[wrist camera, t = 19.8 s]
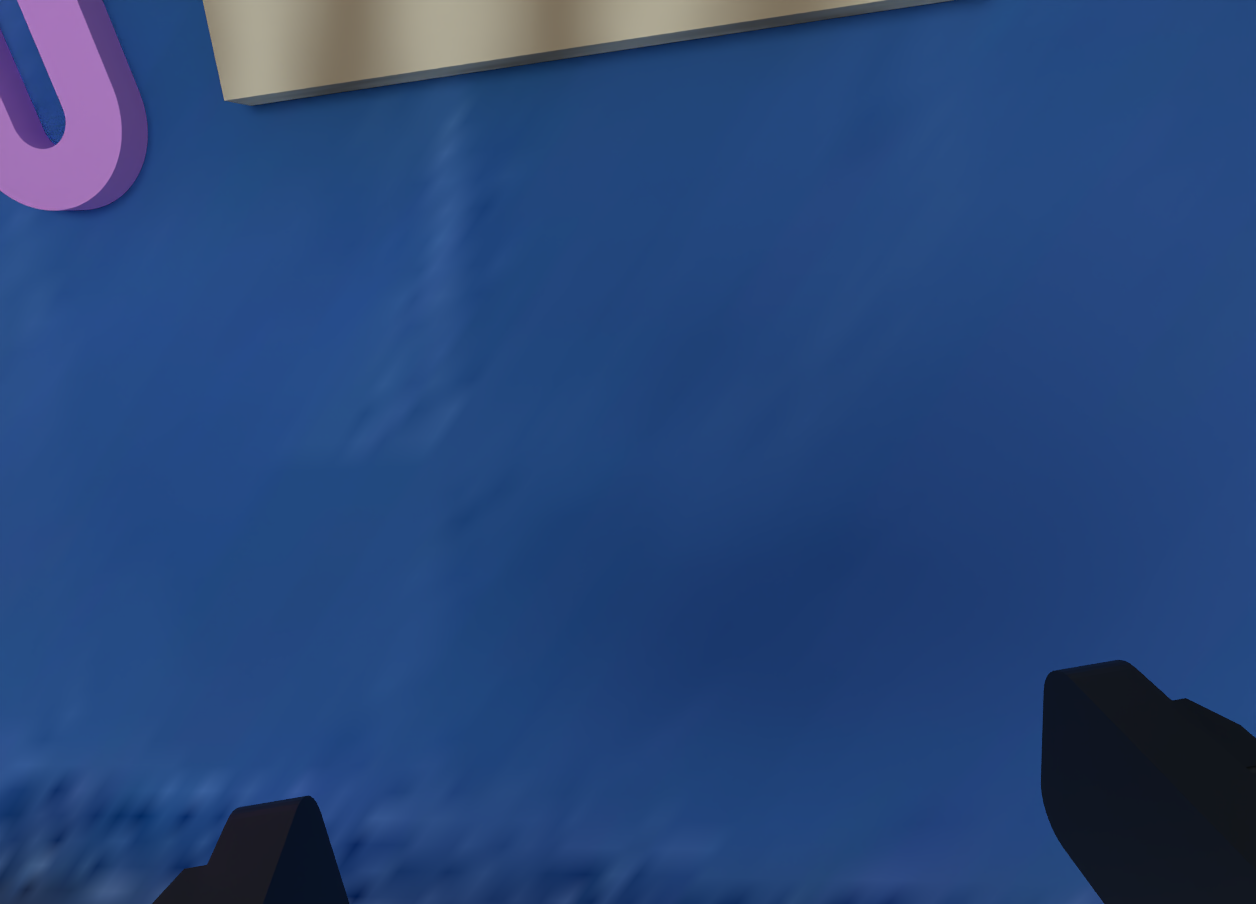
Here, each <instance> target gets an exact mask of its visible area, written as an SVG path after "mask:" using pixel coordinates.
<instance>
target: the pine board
mask: <svg viewBox="0 0 1256 904" xmlns="http://www.w3.org/2000/svg"><path fill="white" fill-rule="evenodd" d="M945 1H952V0H203V4H204V8H205V13H206V18H207V22H208V27H209V32H210V36H211V41H212V45H213V50H214V55H215V59H216V64H217V69H218V73H219V78H220V83H221V87H222V92H223V96H224V101H229V102H234V103H240V104H245V105H250V106H252V105H259V104H266V103H272V102H279V101H286V100H292V99H299V98H306V97H312V96H319V95H326V94H332V93H339V92H346V91H352V90H359V89H366V88H372V87H379V86H386V85H392V84H399V83H406V82H412V81H419V80H426V79H432V78H439V77H446V76H452V75H459V74H466V73H472V72H479V71H486V70H492V69H499V68H505V67H512V66H519V65H525V64H532V63H539V62H545V61H552V60H559V59H565V58H572V57H579V56H585V55H592V54H599V53H605V52H612V51H619V50H625V49H632V48H639V47H645V46H652V45H659V44H665V43H672V42H679V41H685V40H692V39H699V38H705V37H712V36H719V35H725V34H732V33H739V32H745V31H752V30H759V29H765V28H772V27H779V26H785V25H792V24H799V23H805V22H812V21H819V20H825V19H832V18H839V17H845V16H852V15H859V14H865V13H872V12H879V11H885V10H892V9H899V8H905V7H912V6H919V5H925V4H932V3H938V2H945Z"/></svg>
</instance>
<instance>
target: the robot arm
mask: <svg viewBox="0 0 1256 904" xmlns="http://www.w3.org/2000/svg"><path fill="white" fill-rule="evenodd" d="M1041 790H1042V797H1043V802H1044V806H1045V810H1046V813H1047V816H1048V819H1049V821H1050V824H1051V826H1052V829H1053V831H1054V833H1055V835H1056V837H1057V838H1058V840H1059V842H1060V843H1061V845H1062V846H1063V848H1064V849H1065V851H1066V852H1067V853H1068V855H1069V856H1070V857H1071V859H1072V860H1073V862H1074V863H1075V864H1076V866H1077V867H1078V868H1079V870H1080V871H1081V872H1082V874H1083V875H1084V877H1085V878H1086V879H1087V881H1088V882H1089V883H1090V885H1091V886H1092V888H1093V889H1094V890H1095V892H1096V893H1097V894H1098V896H1099V897H1100V898H1101V900H1102V901H1103V903H1104V904H1256V738H1255V737H1254V736H1252V735H1251V734H1250V733H1249V732H1248V731H1247V730H1245V729H1244V728H1243V727H1242V726H1241V725H1239V724H1237V723H1235V722H1233V721H1231V720H1229V719H1227V718H1225V717H1223V716H1221V715H1219V714H1217V713H1215V712H1213V711H1211V710H1209V709H1207V708H1205V707H1203V706H1201V705H1199V704H1197V703H1195V702H1192V701H1190V700H1188V699H1186V698H1185V699H1179V700H1173V701H1172V700H1171V699H1169V698H1168V697H1167V696H1166V695H1165V694H1164V693H1163V692H1162V691H1161V690H1159V689H1158V688H1157V687H1156V686H1155V685H1154V684H1153V683H1152V682H1151V681H1149V680H1148V679H1147V678H1146V677H1145V676H1144V675H1143V674H1142V673H1141V672H1139V671H1138V670H1137V669H1136V668H1135V667H1134V666H1132V665H1131V664H1130V663H1128V662H1126V661H1122V660H1115V661H1109V662H1103V663H1097V664H1091V665H1085V666H1079V667H1073V668H1068V669H1062V670H1056V671H1052V672H1050V673H1049V675H1048V676H1047V678H1046V680H1045V685H1044V700H1043V732H1042V764H1041ZM152 904H349V901H348V898H347V895H346V891H345V888H344V885H343V882H342V879H341V875H340V872H339V869H338V866H337V863H336V860H335V856H334V853H333V850H332V847H331V844H330V840H329V837H328V834H327V831H326V828H325V824H324V821H323V818H322V815H321V812H320V809H319V807H318V805H317V803H316V801H315V800H314V799H313V798H312V797H311V796H303V797H298V798H292V799H286V800H280V801H274V802H268V803H262V804H256V805H251V806H245V807H240V808H237V809H235V810H234V811H233V812H232V814H231V815H230V817H229V818H228V820H227V822H226V825H225V827H224V829H223V831H222V833H221V836H220V838H219V840H218V842H217V844H216V847H215V849H214V851H213V853H212V855H211V858H210V860H209V862H208V864H207V865H204V866H198V867H193V868H187V869H184V870H183V871H182V872H181V873H180V874H179V875H178V876H177V877H176V878H175V880H174V881H173V882H172V883H171V884H170V885H169V886H168V887H167V888H166V889H165V890H164V891H163V893H162V894H161V895H160V896H159V897H158V898H157V899H156V900H155V901H154V902H153V903H152Z"/></svg>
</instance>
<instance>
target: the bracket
mask: <svg viewBox="0 0 1256 904" xmlns="http://www.w3.org/2000/svg"><path fill="white" fill-rule="evenodd" d="M17 1H18V3H19V6H20V8H21V10H22V13H23V15H24V18H25V20H26V22H27V25H28V27H29V29H30V32H31V34H32V36H33V39H34V41H35V44H36V46H37V48H38V51H39V53H40V55H41V58H42V60H43V63H44V65H45V67H46V70H47V72H48V74H49V77H50V79H51V81H52V84H53V86H54V89H55V91H56V93H57V96H58V98H59V100H60V103H61V105H62V108H63V110H64V113H65V118H66V127H65V132H64V135H63V137H62V139H61V140H60V142H59V143H58V144H56V145H54V144H53V143H52V142H51V141H50V140H49V138H48V137H47V135H46V134H45V132H44V130H43V127H42V125H41V123H40V120H39V118H38V116H37V113H36V111H35V109H34V106H33V104H32V102H31V99H30V97H29V95H28V92H27V90H26V88H25V85H24V83H23V81H22V78H21V76H20V74H19V71H18V69H17V67H16V64H15V62H14V60H13V57H12V55H11V53H10V50H9V48H8V46H7V43H6V41H5V39H4V36H3V34H2V32H1V29H0V191H2V192H3V193H4V194H6V195H7V196H9V197H10V198H12V199H14V200H16V201H17V202H19V203H22V204H24V205H27V206H29V207H33V208H37V209H42V210H54V211H58V210H90V209H96V208H100V207H103V206H105V205H108V204H110V203H112V202H113V201H115V200H117V199H118V198H119V197H121V196H122V195H123V194H124V193H125V192H126V191H127V190H128V189H129V188H130V187H131V185H132V184H133V183H134V181H135V180H136V178H137V176H138V174H139V172H140V170H141V168H142V165H143V162H144V159H145V155H146V150H147V142H148V128H147V118H146V112H145V108H144V104H143V101H142V98H141V95H140V92H139V90H138V88H137V85H136V83H135V80H134V78H133V75H132V73H131V70H130V68H129V65H128V63H127V60H126V58H125V55H124V53H123V50H122V48H121V45H120V43H119V40H118V38H117V35H116V33H115V30H114V28H113V25H112V23H111V20H110V18H109V15H108V13H107V11H106V8H105V6H104V3H103V1H102V0H17Z"/></svg>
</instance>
